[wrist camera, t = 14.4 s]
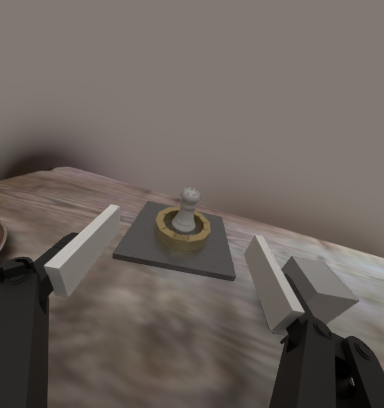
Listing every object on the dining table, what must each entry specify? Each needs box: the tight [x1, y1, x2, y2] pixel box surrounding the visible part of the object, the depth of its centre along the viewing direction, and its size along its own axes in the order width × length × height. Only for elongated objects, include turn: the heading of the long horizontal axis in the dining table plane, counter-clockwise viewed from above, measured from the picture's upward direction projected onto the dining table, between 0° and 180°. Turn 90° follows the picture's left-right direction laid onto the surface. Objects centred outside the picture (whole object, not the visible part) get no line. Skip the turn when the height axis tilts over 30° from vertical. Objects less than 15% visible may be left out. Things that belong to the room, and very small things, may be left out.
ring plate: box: [113, 201, 236, 281], centre depth 26 cm, size 17×15×3 cm
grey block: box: [272, 256, 359, 335], centre depth 16 cm, size 4×4×8 cm
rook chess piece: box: [170, 187, 200, 236], centre depth 25 cm, size 4×4×8 cm
